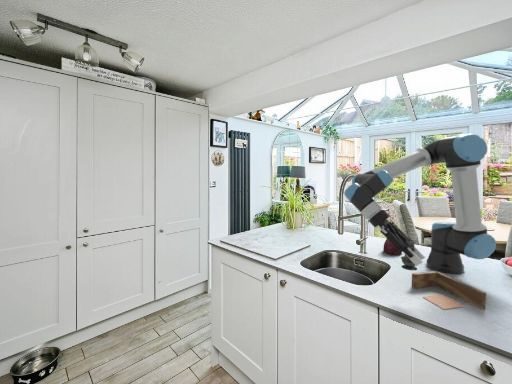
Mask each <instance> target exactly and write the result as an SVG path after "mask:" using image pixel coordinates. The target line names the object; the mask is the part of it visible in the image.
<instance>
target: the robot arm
mask: <svg viewBox="0 0 512 384" xmlns="http://www.w3.org/2000/svg"><path fill="white" fill-rule="evenodd" d="M487 152H488V145H487V143H486V140H485V139H484V138H483V137H482V136H480V135H478V134H475V133H464V134H463V133H462V134H457V135H454V136H453V135H452V136H448V137H447V136H446V137H440V138H438V139H435V140H434V141H432V142H429V143H427V144H424V145H423V146H421V147H419V148H416V149H415V152H412V153H409V154H407V155H405V156H402V157H399V158H397V159H395V160H392V161H389V162H387V163H386V164H383V165H380V166H378V167H375V168H373V169H371V170H369V171H366V172H364V173H358V174H355V175H354V176H353V177H352V179H351V185H349V186H348V187H347V188H346V189H345V190H344V192H343V193H344V196H345V198H346V199H347V200H348V201H349V202H350V203H351V204H352V205H353V206H354V207H355V208H356V209H357V210H358V212H360V213H361V214H362V215H361V216H362V217H364V218H365V219H366V220H368V222H369V223H370V224H371V225H372V226H373V228H377V227H379V228H380V230H379V232H380V233H381V234H382V235H383V236H384V237H385V238H386V239H388V240H389V241H390V242H391V243H392V244H393V245H394V246H395V247H396V248H397V249H398V251H399V252H400V253H401V252H402V254H403V253H404V256H405V255H406V256H407V257H408V258H409V259H410V260H411V261H412V262H413V263H414V264H415V267H418V266H419V265H421V264H423V262H424V261H423V260H424V259H425V258H426V256H425V255H424V254H423V253H422V252H421V251H420V250H419V249H418V248H417V247H416V246H415V245H414V249H415V251H414V252H413V251H412V250H411V249H410V248H409V247H407V246H406V240H409V238H410V237H408V235H406V234H405V233H404V231H403V230H401V229H400V228H399V227H398V226H397V224H396V223H395V222H393V221H390V220H388V218H389V217H390V214H389V213H388V212H387V211H386V210H385V209H383V208H382V206H381V205H380V204H379V203H378V202H376V200H375V199H374V198H375V197H376V196H378V195H379V194H380V193H381V192H382V191H384V190H385V189H386V188H388V187H389V186H390V185H392V184H393V182H394V181H393V179H394V178H397V177H400V176H401V175H404V174H406V173H409V172H411V171H413V170H416V169H418V168H421V167H425V168H426V167H429V166H432V165H436V164H445V169H446V170H448V171H450V177H451V186H452V195H453V204H454V205H453V206H454V215H455V222H451V221H449V222H448V221H447V222H446V221H443V222H442V221H441V222H433V223H432V226H431V236H430V237H431V239H430V241H431V243H430V246H431V248H430V252H429V255H428V258H427V259H426V267H428V268H430V269H432V270H433V271H438V272H440V273H447V274H448V273H449V274H462V273H463V272H464V270H465V266H464V264H463V259H462V257H461V255H462V256H466V257H467V258H469V259H470V258H471V259H474V260H484V259H487V258H489V257H490V256H492V254H493V253H494V252H495V250H496V247H497V242H496V239H495V237H493V236H492V234H489V233H488V228H487V226H486V225H485V224H484V223H482V215H481V206H480V205H481V204H480V203H481V202H480V192H479V184H478V182H479V181H478V173H477V169H478V167H480V165H481V160H483V159H484V158H485V157H486V156H485V155H487Z"/></svg>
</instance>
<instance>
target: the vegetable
mask: <svg viewBox="0 0 512 384" xmlns="http://www.w3.org/2000/svg"><path fill="white" fill-rule="evenodd" d="M382 251H383V253H384V254H385V255H391V256H401V255H403V252H401V253H400V252H399V251H398V249H397V248H396V247H395V246H394V245H393V244H392V243H391V242H390V241H389V240H388V239H387V238H386V239H385V241H384V243H383V250H382Z"/></svg>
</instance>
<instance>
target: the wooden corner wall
mask: <svg viewBox="0 0 512 384" xmlns="http://www.w3.org/2000/svg"><path fill="white" fill-rule="evenodd" d="M431 287H432V288H433V287H436V288H439V289H441V290H442V291H445V292H446V291H447V293H448V292H449V294H451V295H452V296H454V297H457V298H458V299H460V300H462V301H464V302H466V303H468V304H470V305H472V306H474V307H476V308H478V309H479V310H486V301H487V300H486V298H487V292H485V291H483V290H480V289H478V288H476V287H473V286H471V285H469V284H467V283H465V282H462V281H461V280H458V279H455V278H453V277H451V276H449V275H447V274H445V273H443V272H441V271H437V270H432V271H431V270H430V271H421V272H413V273H411V288H412V289H423V288H431Z"/></svg>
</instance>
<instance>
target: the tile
mask: <svg viewBox="0 0 512 384" xmlns="http://www.w3.org/2000/svg"><path fill="white" fill-rule="evenodd" d="M422 298H423V299H424V300H427V301H428V302H430V303H432V304H433V305H435V306H437V307H438V308H440V309H442V310H443V311H444V310H452V309H458V308H465V307H466V305H463V304H462V303H460V302H458V301H457V300H454V299H453V298H451V297H449V296H447V295H446V294H443V293H442V294H433V295H426V296H425V295H424V296H422Z"/></svg>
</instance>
